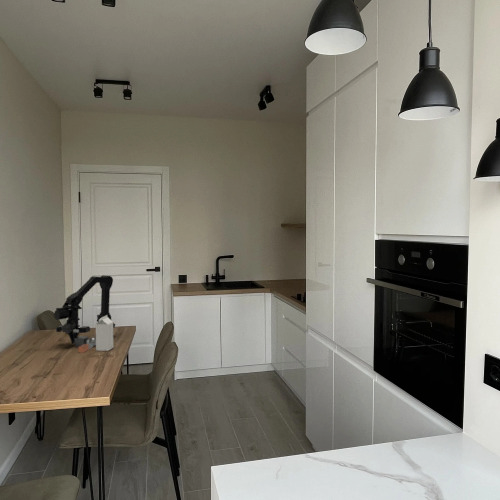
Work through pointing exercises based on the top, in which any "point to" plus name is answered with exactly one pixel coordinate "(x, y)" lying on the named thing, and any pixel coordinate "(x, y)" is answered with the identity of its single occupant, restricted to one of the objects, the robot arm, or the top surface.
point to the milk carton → (104, 334)
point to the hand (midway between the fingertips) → (73, 343)
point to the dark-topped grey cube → (79, 340)
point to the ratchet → (87, 344)
